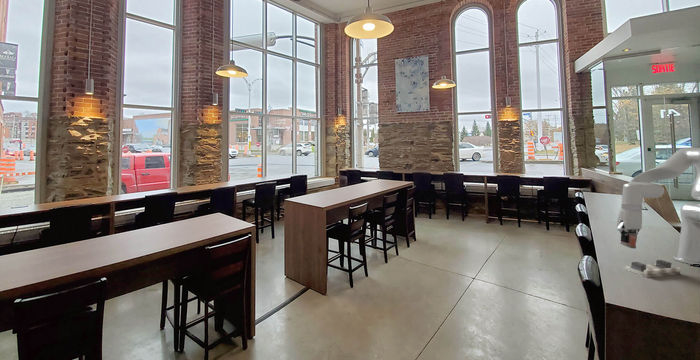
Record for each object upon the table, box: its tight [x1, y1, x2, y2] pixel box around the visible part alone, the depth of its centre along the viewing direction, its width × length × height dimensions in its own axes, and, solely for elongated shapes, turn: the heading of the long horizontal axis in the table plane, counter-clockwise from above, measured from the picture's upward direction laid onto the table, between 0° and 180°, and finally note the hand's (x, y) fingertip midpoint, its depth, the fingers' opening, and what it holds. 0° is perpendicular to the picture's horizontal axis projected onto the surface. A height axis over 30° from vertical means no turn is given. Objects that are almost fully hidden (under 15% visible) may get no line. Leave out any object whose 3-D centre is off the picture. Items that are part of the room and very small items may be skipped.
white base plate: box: [624, 259, 682, 278], centre depth 138 cm, size 20×9×4 cm, turn 99°
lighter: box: [620, 229, 638, 250], centre depth 147 cm, size 8×3×10 cm, turn 169°
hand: (628, 241), depth 147 cm, fingers closed on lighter, 4 cm apart
